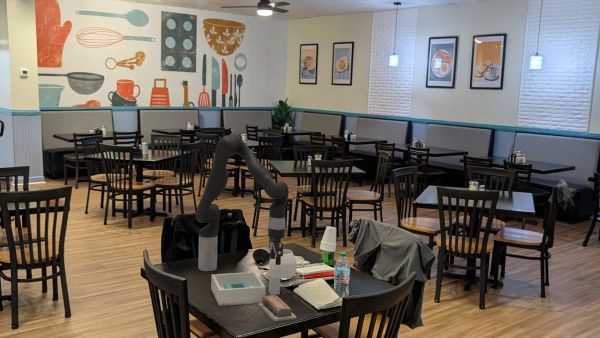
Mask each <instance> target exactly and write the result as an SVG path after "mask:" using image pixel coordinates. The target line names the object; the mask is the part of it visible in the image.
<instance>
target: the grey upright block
mask: <svg viewBox="0 0 600 338" xmlns="http://www.w3.org/2000/svg"><path fill="white" fill-rule="evenodd" d="M280 275H281V268H280V267H279V266H270V271H269V277H268V280H269V281H268V293H269V294H270V295H276V296H278V295H280V293H281V292H280V291H281V280H280Z"/></svg>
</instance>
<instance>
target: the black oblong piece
mask: <svg viewBox="0 0 600 338" xmlns="http://www.w3.org/2000/svg"><path fill="white" fill-rule="evenodd" d="M270 253H271V251H270V249H268V250H266V249H264V248H257V249H255V250H254V251H253V252H252V259H253V261H254V262H255V264H257V265H258V266H262V265H264V264H266V263H268V261H270V259H271V258H270ZM260 263H263V264H260Z"/></svg>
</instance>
